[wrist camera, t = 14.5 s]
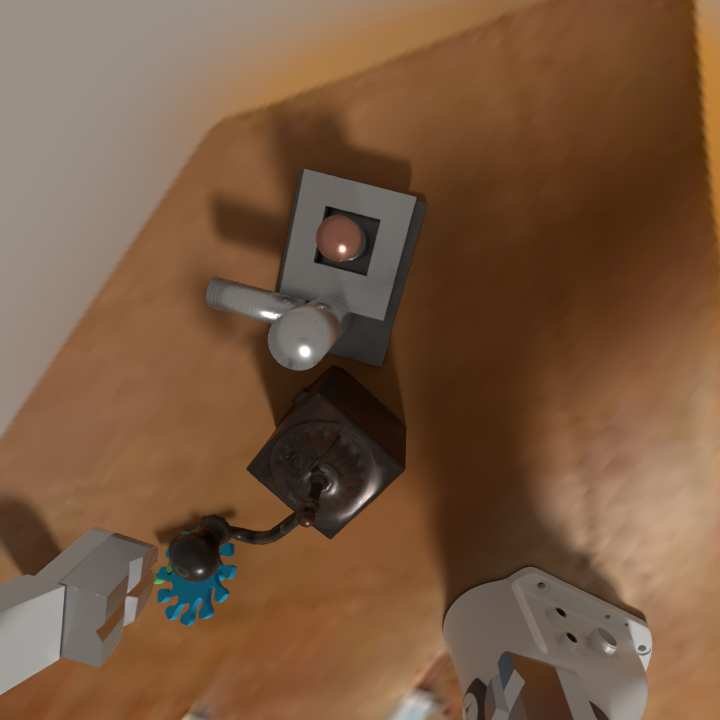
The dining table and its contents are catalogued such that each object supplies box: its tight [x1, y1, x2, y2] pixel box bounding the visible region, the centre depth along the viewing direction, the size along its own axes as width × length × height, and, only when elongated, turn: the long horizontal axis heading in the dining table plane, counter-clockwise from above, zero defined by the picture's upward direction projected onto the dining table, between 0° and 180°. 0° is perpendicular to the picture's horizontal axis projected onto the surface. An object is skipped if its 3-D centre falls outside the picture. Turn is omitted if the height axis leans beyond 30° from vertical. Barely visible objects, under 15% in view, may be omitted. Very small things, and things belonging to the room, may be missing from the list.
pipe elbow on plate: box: [206, 169, 427, 371], centre depth 35 cm, size 16×16×15 cm
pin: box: [316, 215, 370, 261], centre depth 36 cm, size 3×3×8 cm
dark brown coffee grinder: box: [169, 365, 407, 583], centre depth 38 cm, size 16×11×18 cm
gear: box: [154, 525, 237, 625], centre depth 49 cm, size 11×6×10 cm
